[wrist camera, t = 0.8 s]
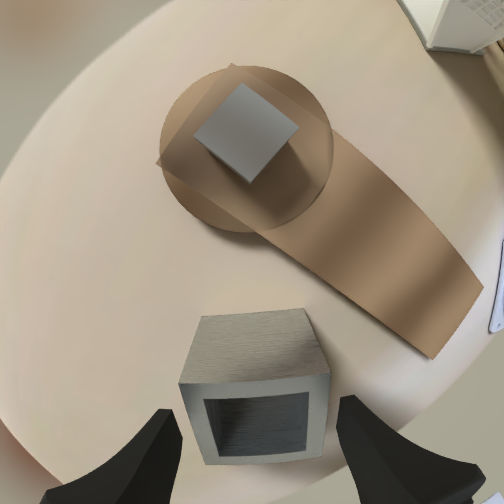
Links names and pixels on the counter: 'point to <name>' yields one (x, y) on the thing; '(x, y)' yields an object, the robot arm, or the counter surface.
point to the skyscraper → (456, 23)
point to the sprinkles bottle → (501, 42)
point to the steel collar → (256, 388)
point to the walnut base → (313, 200)
